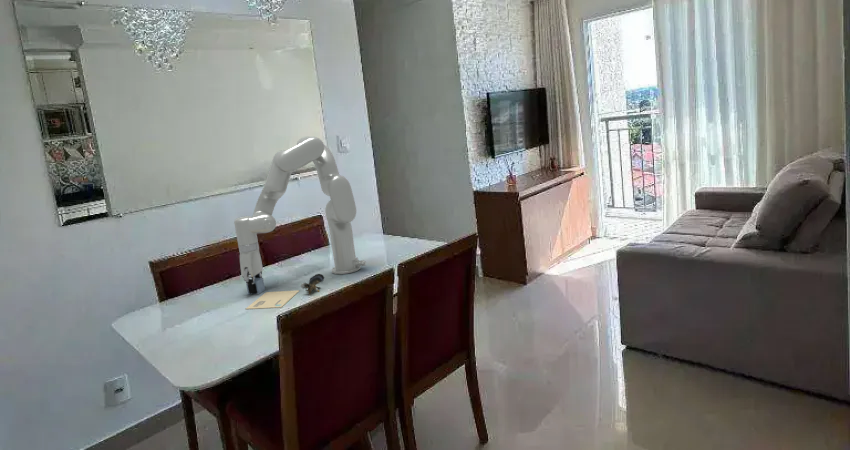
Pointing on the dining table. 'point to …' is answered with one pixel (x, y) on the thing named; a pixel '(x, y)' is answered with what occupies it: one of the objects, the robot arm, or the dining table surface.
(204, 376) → the dining table surface
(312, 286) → the squirrel figurine
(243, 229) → the robot arm
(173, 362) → the dining table surface
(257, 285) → the blue block
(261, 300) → the letter
